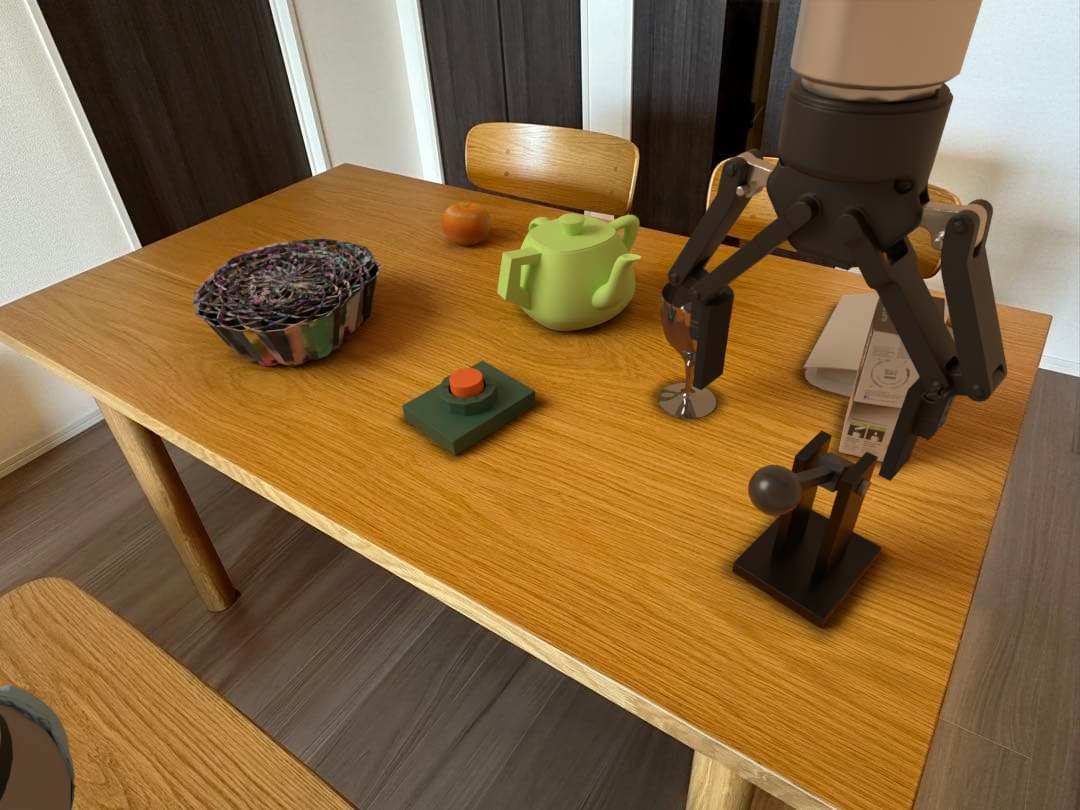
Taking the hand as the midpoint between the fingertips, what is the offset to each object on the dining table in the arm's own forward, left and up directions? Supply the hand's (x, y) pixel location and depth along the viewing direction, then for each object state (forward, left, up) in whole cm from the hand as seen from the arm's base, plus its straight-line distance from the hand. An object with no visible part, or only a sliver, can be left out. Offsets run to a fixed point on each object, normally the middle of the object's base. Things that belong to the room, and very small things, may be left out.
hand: (792, 420), depth 47 cm
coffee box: (+31, +1, -23) cm, 39 cm away
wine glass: (+24, +21, -23) cm, 40 cm away
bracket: (+9, -1, -23) cm, 25 cm away
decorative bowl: (+5, +76, -23) cm, 80 cm away
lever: (+3, -1, -10) cm, 10 cm away
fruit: (+41, +77, -23) cm, 90 cm away
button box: (+6, +41, -23) cm, 47 cm away
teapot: (+33, +45, -23) cm, 60 cm away
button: (+6, +41, -19) cm, 46 cm away
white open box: (+48, +6, -23) cm, 54 cm away
